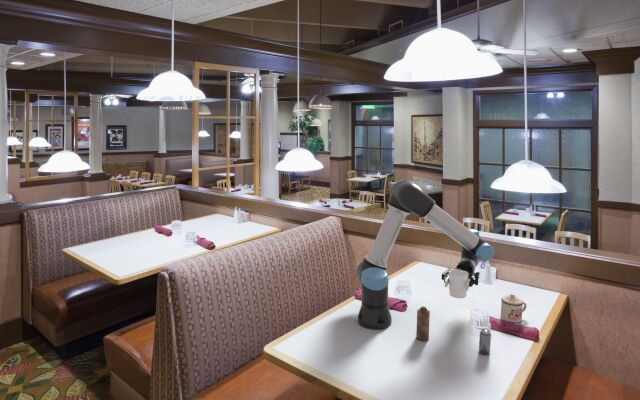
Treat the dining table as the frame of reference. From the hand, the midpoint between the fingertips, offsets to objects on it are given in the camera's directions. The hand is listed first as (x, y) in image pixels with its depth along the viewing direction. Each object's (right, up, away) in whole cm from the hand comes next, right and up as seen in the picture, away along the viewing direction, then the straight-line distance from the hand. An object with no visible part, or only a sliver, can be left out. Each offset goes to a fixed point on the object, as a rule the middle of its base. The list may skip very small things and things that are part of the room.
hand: (456, 285), depth 170 cm
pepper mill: (-13, -22, +2) cm, 26 cm away
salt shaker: (+8, -24, -9) cm, 27 cm away
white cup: (+2, -5, +5) cm, 8 cm away
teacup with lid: (+32, -19, +18) cm, 41 cm away
